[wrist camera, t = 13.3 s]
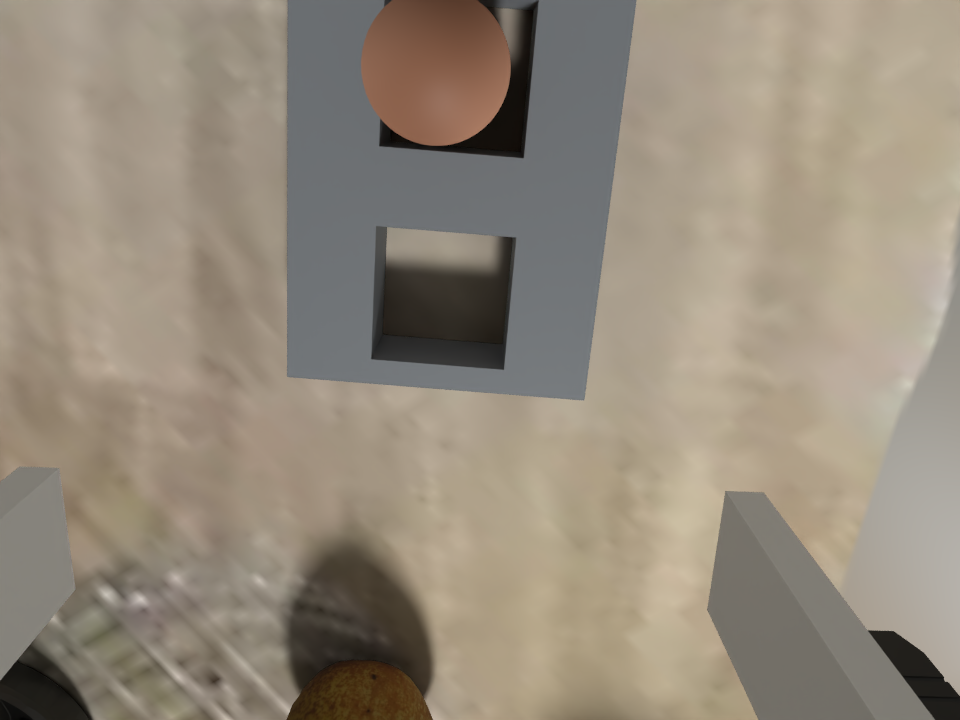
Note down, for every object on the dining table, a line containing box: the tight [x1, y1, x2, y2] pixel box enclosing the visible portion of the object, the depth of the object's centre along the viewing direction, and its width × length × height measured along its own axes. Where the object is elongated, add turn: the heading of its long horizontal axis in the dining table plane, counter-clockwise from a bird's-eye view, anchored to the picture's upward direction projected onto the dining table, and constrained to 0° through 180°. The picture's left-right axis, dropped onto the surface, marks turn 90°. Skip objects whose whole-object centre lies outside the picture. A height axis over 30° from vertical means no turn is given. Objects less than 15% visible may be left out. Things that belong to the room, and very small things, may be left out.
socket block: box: [287, 0, 636, 400], centre depth 36 cm, size 14×18×4 cm
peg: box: [361, 0, 511, 146], centre depth 30 cm, size 4×4×14 cm
